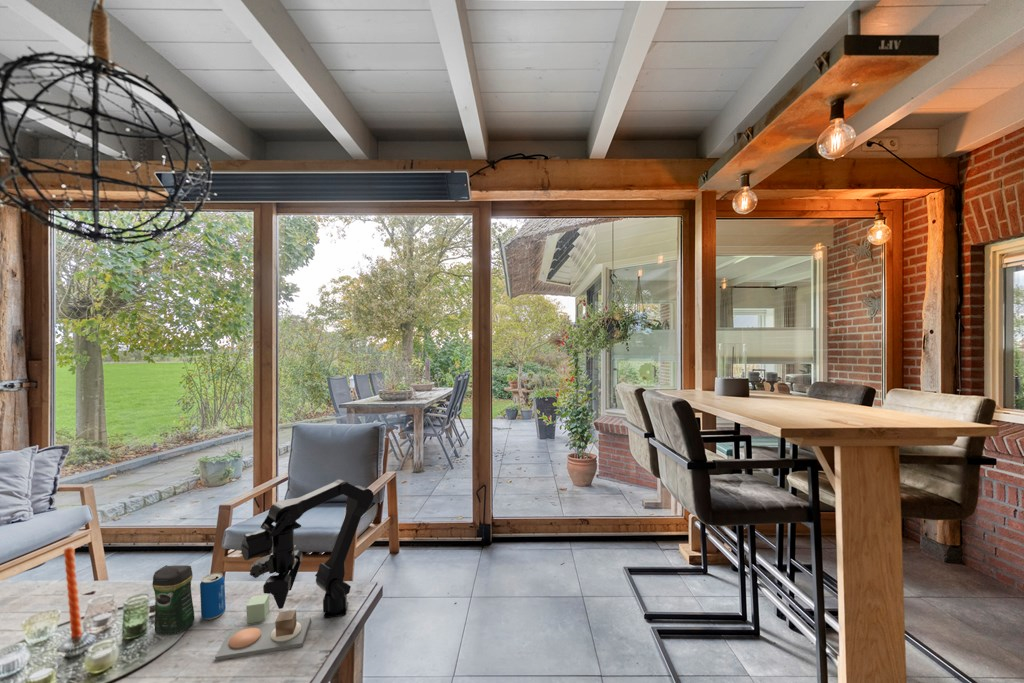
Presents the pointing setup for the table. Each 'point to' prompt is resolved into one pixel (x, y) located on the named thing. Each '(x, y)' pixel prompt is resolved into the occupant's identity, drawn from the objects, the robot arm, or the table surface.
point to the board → (261, 639)
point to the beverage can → (212, 595)
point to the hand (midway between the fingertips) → (285, 599)
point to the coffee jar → (173, 599)
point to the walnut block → (285, 623)
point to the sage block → (258, 608)
